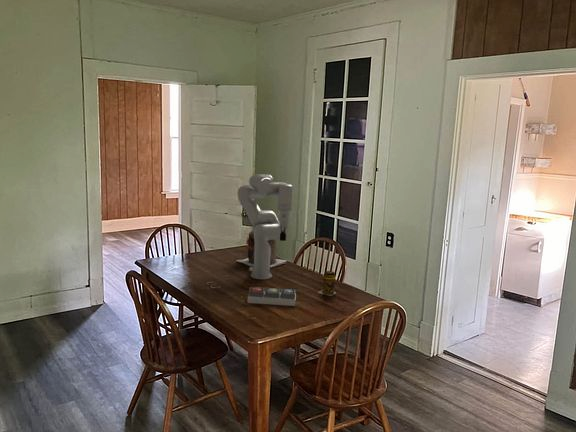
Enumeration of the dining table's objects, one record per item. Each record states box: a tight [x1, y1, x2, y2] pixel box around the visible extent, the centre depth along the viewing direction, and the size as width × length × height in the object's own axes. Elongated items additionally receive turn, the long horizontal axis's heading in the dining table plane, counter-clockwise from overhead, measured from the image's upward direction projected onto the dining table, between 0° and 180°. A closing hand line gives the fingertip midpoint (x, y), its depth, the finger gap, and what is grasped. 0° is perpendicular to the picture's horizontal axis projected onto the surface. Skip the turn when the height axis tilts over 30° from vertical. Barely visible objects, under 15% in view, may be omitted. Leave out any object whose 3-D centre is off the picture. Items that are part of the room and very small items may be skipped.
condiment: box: [317, 270, 337, 297], centre depth 259 cm, size 7×8×12 cm
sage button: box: [267, 288, 278, 293], centre depth 243 cm, size 5×5×2 cm
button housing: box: [246, 286, 297, 307], centre depth 243 cm, size 24×10×6 cm, turn 88°
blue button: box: [283, 289, 293, 294], centre depth 242 cm, size 5×5×2 cm
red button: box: [252, 287, 262, 292], centre depth 243 cm, size 5×5×2 cm
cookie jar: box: [236, 228, 288, 269], centre depth 309 cm, size 25×25×32 cm
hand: (282, 240), depth 260 cm, fingers closed
